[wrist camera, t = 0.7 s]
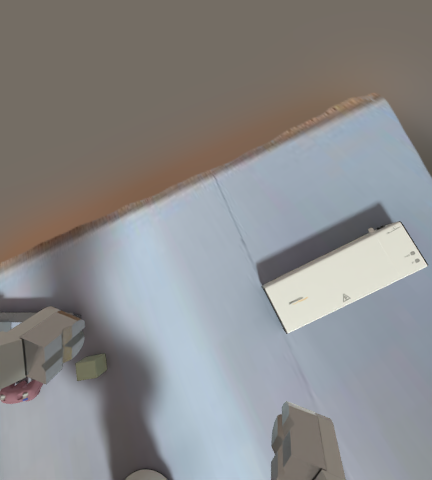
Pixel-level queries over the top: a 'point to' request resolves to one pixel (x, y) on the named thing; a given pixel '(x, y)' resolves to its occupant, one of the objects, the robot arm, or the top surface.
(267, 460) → the top surface
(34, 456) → the top surface
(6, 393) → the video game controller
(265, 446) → the top surface
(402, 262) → the laminator
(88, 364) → the block
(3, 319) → the rail bar
